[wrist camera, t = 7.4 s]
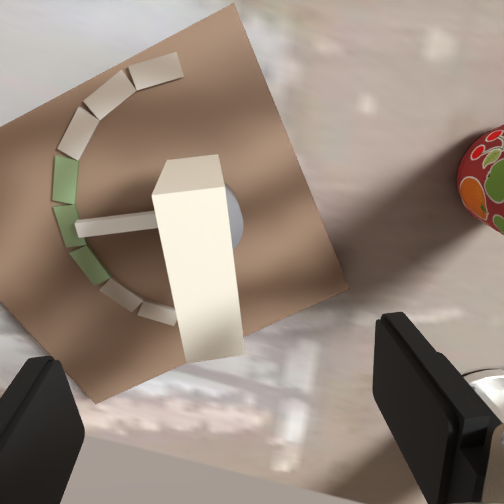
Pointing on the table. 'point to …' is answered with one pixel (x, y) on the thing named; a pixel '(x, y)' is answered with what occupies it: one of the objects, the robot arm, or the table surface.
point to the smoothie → (484, 179)
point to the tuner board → (151, 205)
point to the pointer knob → (193, 252)
